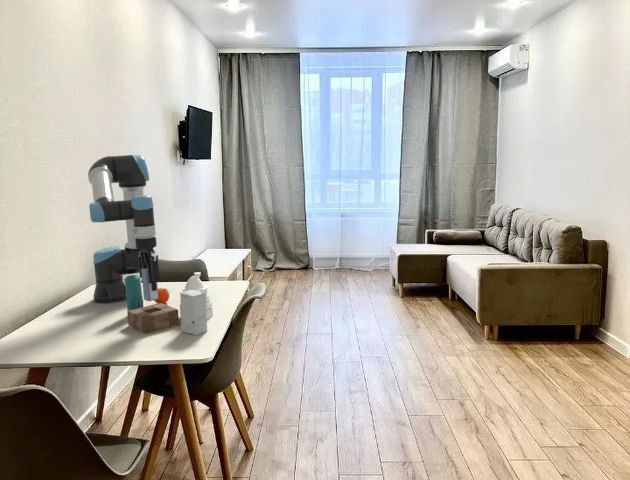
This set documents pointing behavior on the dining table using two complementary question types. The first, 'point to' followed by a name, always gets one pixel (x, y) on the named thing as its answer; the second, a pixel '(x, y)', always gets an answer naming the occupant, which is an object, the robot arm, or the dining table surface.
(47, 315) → the dining table surface
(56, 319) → the dining table surface
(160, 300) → the red tomato
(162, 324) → the socket block
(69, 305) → the dining table surface
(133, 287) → the beverage bottle
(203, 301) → the skincare box
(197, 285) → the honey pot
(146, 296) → the peg
